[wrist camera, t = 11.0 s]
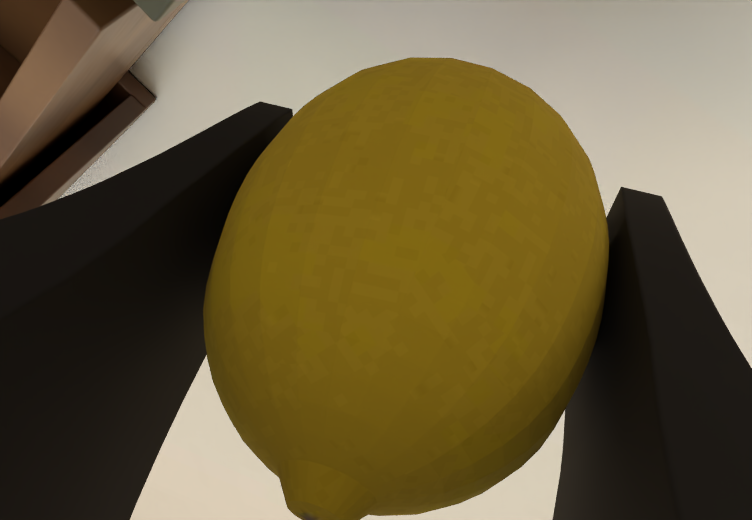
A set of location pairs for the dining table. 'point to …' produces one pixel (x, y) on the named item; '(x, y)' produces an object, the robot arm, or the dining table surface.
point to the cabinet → (76, 149)
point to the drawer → (65, 66)
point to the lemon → (407, 289)
